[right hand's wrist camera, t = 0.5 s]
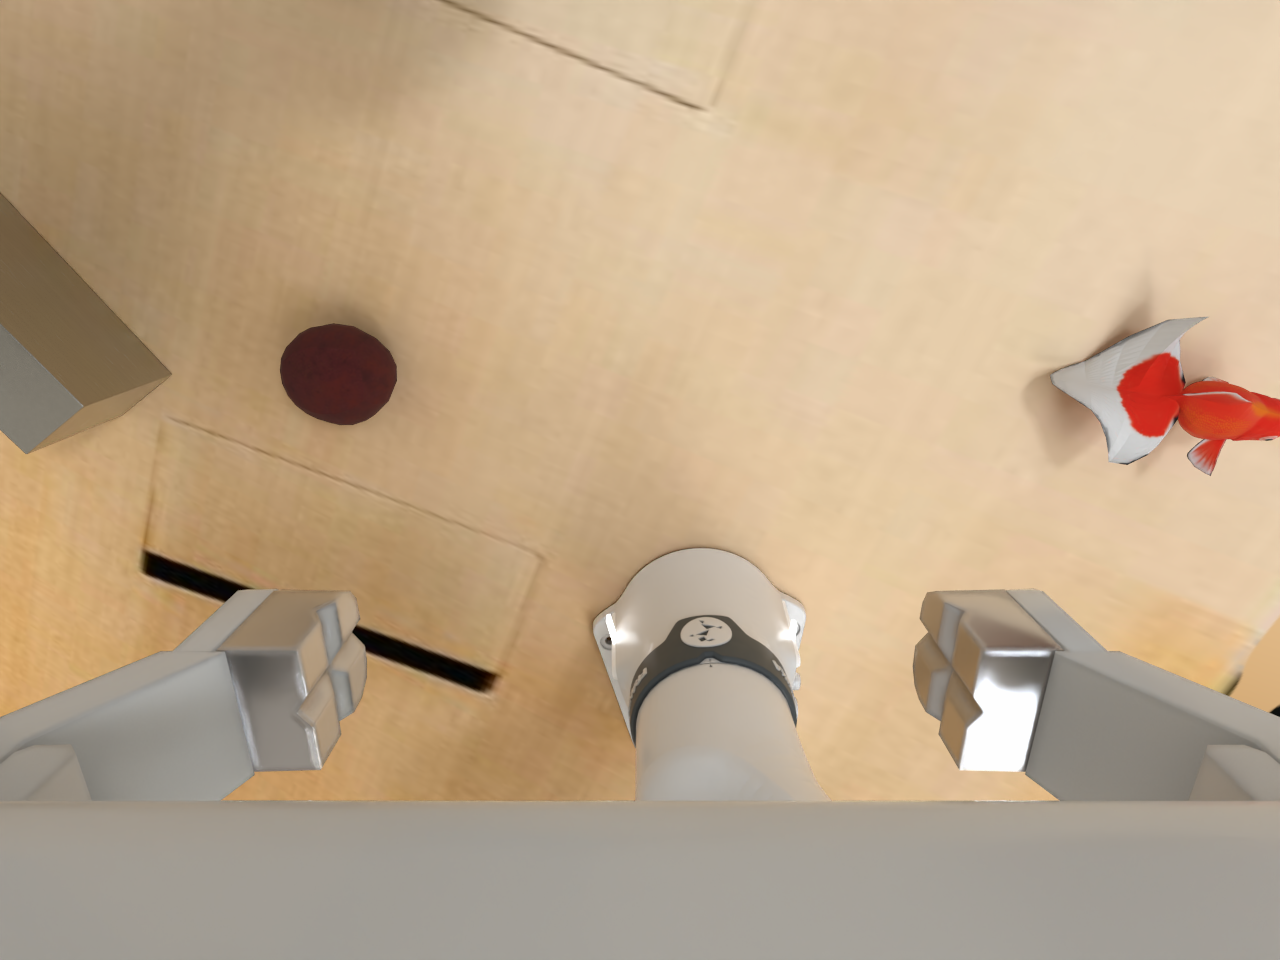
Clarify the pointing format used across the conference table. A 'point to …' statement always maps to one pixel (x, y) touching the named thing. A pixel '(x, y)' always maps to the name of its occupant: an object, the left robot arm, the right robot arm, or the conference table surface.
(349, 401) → the dark red ball
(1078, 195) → the conference table surface
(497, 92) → the conference table surface
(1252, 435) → the fish
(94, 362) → the bar
